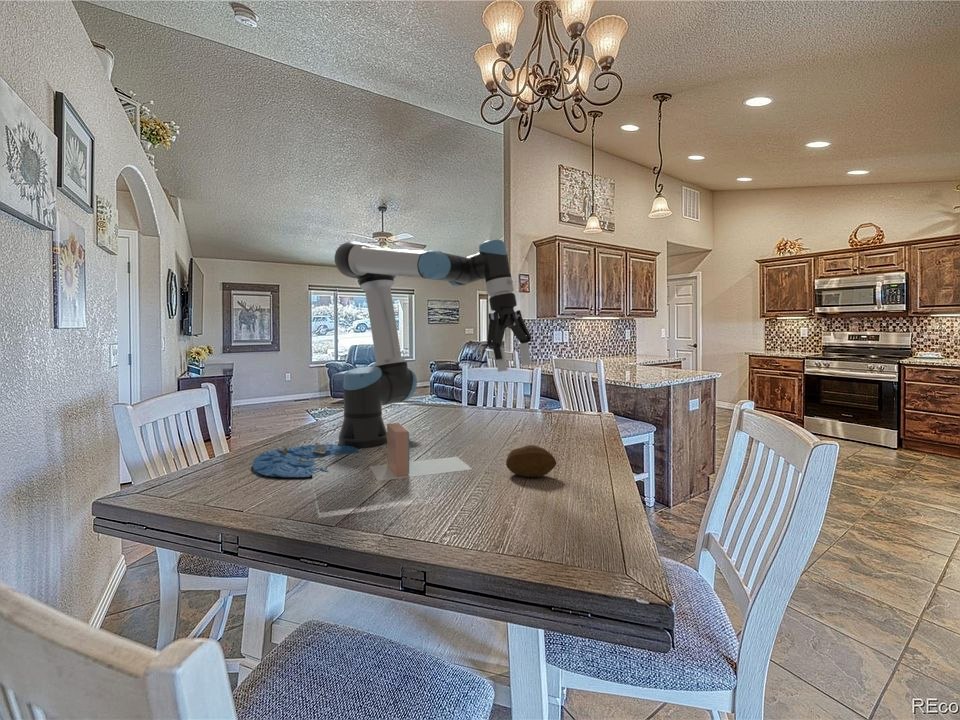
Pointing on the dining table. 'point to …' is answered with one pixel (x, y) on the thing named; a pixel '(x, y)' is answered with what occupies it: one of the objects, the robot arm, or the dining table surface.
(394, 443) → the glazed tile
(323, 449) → the decorative plate
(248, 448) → the dining table surface
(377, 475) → the grey rubber mat
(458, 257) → the robot arm
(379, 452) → the dining table surface
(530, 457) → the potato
